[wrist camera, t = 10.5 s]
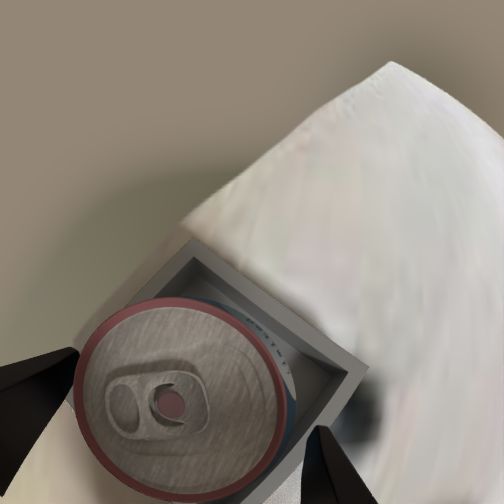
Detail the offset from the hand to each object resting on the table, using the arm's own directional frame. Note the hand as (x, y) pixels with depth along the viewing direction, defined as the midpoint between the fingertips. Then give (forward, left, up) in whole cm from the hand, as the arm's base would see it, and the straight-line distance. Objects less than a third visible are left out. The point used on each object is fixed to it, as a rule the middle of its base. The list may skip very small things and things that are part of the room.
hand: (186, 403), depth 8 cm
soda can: (0, 0, -9) cm, 9 cm away
